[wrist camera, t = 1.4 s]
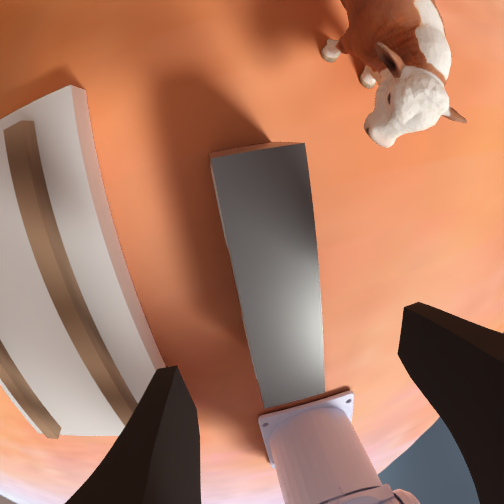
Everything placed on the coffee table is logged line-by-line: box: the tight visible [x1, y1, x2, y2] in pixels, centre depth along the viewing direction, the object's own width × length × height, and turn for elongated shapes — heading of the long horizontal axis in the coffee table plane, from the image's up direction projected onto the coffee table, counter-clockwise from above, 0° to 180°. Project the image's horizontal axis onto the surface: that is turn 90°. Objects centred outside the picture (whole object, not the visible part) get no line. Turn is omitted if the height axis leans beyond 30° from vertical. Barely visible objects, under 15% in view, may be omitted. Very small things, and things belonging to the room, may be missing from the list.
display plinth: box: [0, 85, 166, 439], centre depth 14 cm, size 22×14×3 cm, turn 10°
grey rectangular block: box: [209, 142, 325, 408], centre depth 14 cm, size 12×3×6 cm, turn 10°
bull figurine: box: [321, 0, 467, 148], centre depth 9 cm, size 4×13×8 cm, turn 179°
